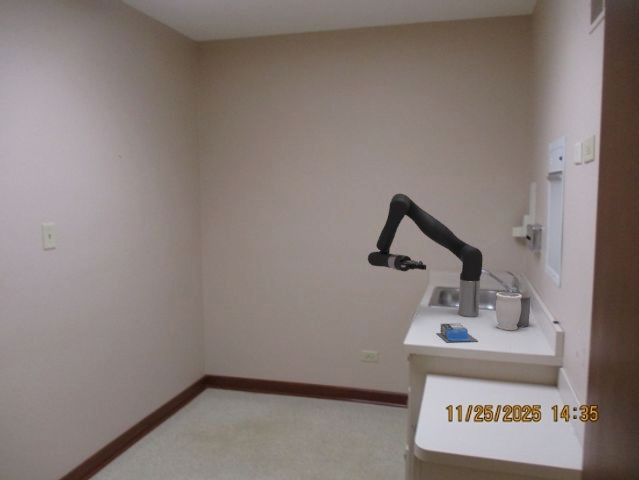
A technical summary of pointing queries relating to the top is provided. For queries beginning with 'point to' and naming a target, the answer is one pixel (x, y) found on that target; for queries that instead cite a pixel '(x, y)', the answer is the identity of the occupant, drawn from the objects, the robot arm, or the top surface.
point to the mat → (456, 341)
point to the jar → (508, 310)
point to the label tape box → (455, 332)
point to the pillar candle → (524, 309)
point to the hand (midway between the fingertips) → (425, 267)
